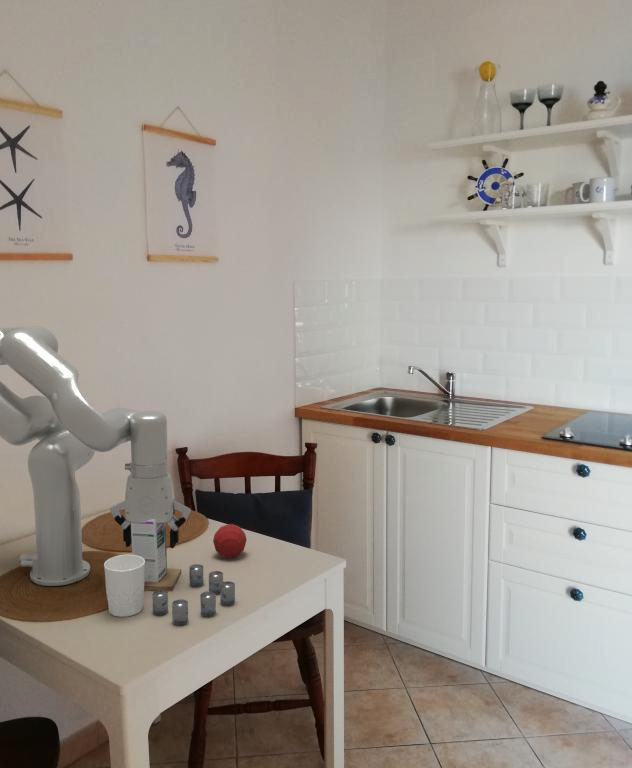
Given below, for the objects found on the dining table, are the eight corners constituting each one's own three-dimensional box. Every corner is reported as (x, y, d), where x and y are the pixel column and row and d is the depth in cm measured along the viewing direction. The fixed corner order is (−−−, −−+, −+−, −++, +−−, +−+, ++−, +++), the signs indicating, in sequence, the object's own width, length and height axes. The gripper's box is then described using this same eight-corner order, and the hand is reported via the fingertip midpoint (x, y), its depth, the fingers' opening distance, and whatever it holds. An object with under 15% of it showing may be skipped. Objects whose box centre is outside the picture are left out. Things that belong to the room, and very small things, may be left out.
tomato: (232, 528, 164) (232, 511, 171) (206, 547, 165) (206, 529, 172) (253, 550, 167) (252, 533, 174) (227, 569, 168) (227, 550, 175)
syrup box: (157, 583, 152) (156, 519, 150) (131, 581, 153) (130, 517, 151) (167, 572, 158) (166, 510, 155) (142, 570, 159) (141, 508, 156)
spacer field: (146, 625, 137) (145, 605, 136) (169, 580, 156) (169, 563, 155) (227, 627, 137) (227, 608, 136) (240, 582, 156) (240, 565, 155)
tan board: (121, 589, 151) (120, 585, 151) (132, 571, 160) (132, 567, 160) (172, 591, 151) (172, 586, 151) (181, 572, 160) (181, 568, 160)
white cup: (124, 622, 138) (123, 574, 136) (97, 611, 142) (95, 564, 140) (154, 606, 144) (153, 560, 143) (126, 596, 148) (125, 551, 147)
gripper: (103, 473, 148) (106, 551, 151) (186, 475, 148) (187, 553, 150) (114, 463, 155) (117, 537, 158) (193, 465, 155) (194, 539, 158)
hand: (151, 545), depth 154 cm, fingers open, 9 cm apart
